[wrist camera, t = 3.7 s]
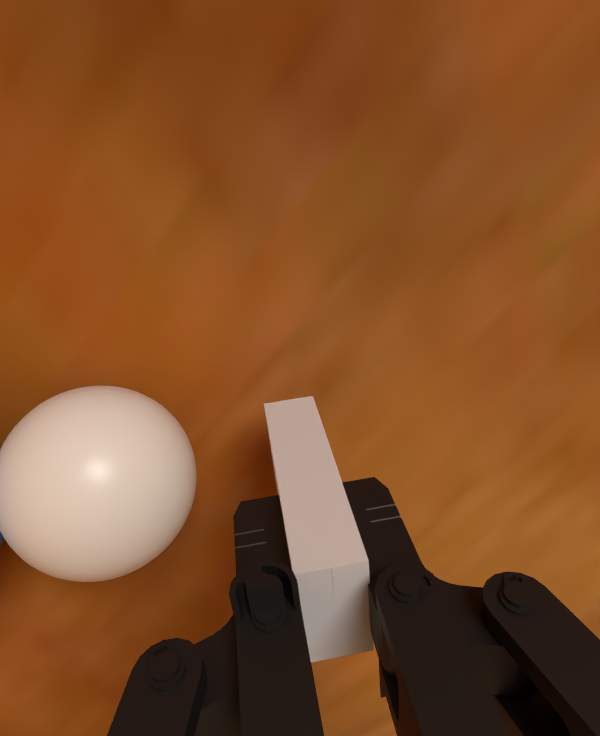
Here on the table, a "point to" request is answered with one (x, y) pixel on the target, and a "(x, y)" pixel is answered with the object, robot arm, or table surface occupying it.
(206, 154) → the table surface
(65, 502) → the cue ball
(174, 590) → the table surface
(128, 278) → the table surface
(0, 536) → the object ball
